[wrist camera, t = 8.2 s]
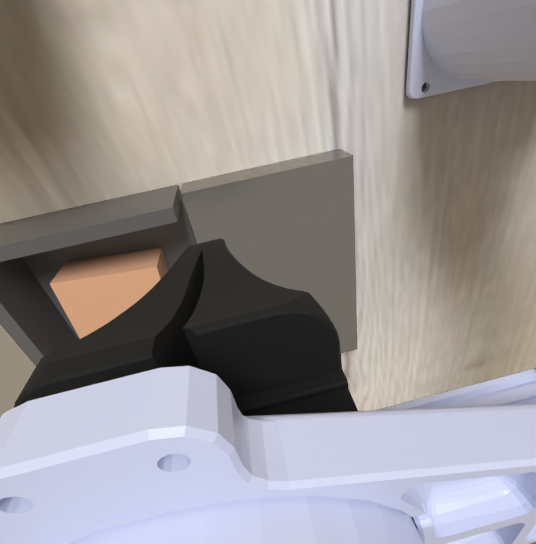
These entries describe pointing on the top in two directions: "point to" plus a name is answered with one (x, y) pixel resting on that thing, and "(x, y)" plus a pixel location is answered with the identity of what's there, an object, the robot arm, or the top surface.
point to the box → (78, 257)
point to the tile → (106, 286)
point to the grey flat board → (288, 228)
